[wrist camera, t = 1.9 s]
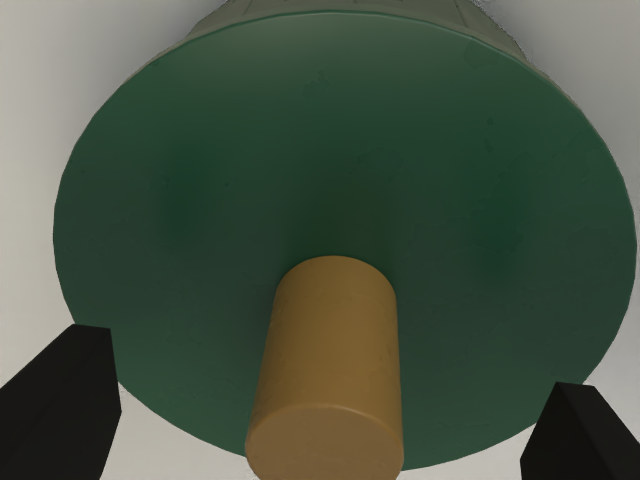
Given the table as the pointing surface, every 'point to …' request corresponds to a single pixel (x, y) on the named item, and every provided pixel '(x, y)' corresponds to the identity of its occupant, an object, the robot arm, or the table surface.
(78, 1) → the table surface
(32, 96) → the table surface
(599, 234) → the tin lid
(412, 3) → the tea tin
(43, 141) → the table surface
